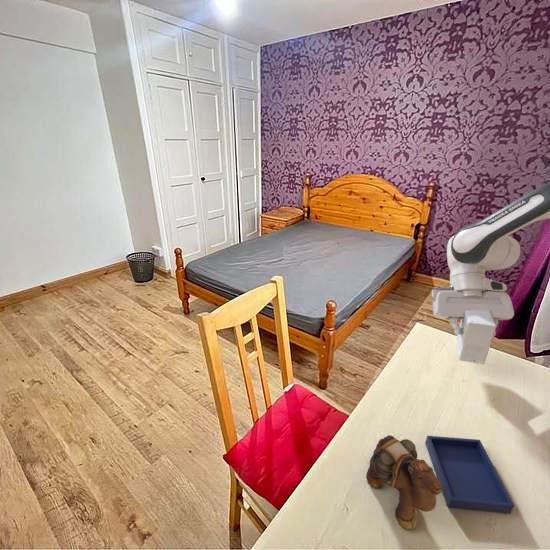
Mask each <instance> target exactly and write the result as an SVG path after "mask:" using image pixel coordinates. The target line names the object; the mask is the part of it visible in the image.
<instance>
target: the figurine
mask: <svg viewBox="0 0 550 550" xmlns="http://www.w3.org/2000/svg"><path fill="white" fill-rule="evenodd" d="M365 477H366V481H367V483H368V484H369V485H370V486H371V487H373V488H376V489H380V488H381V487H383V486H384V485H385V482H386V484H387V485H388V486H389V487H391V488H394V489H395V490H397V491H398V493H399V497H398V503H397V506H396V507H395V509H394V517H395V519H396V521H397V523H398V525H399V526H400V527H401V528H402V529H404V530H412V529H414V528H415V527H416V524H417V517H418V513H419V511H421V512H423V513H428V512H432V511H433V510H435V508H436V506H437V496H438V495H440V494H441V493H442V485H441V483H440V481H439V480H438V478H437V476H436V473H434V468H432V467H431V466H430V465H429V464H428V463H427V462H426V460H424V459H419V458H418V452H417V447H416V444H415V443H414V442H413V441H412V440H410V439H407V438H406V439H405V438H404V439H401V440H399V439H397V438H396V437H394V436H393V435H387V436H385V437H383V438H380V439H379V440H378V442H377V444H376V446H375V448H374V450H373V453H372V455H371V457H370V458H369V467H368V468H367V471H366V475H365Z"/></svg>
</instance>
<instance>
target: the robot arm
mask: <svg viewBox="0 0 550 550" xmlns="http://www.w3.org/2000/svg"><path fill="white" fill-rule="evenodd" d="M547 219H550V183H547V184H544V185H542V186H540V187H537V188H535V189H533V190H532V191H530V192H527V193H525V194H524V195H522V196H521V197H519V198H517V199H516V200H514V201H512V202H510V203H509V204H507V205H505V206H504V207H502V208H501V209H498V210H497V211H496V212H494V213H492V214H490V215H489V216H487V217H485V218H483V219H482V220H480V221H476V222H474V223H470V224H467V225H465V226H463V227H461V228H460V229H459V230H458V231H457V232H456V233H455V234H454V235H453V236H451V237H450V238H449V240H448V241H447V245H446V260H447V261H446V262H447V265H448V268H449V271H450V272H449V273H450V274H449V283H450V286H441V285H438V286H436V287H434V288H432V290H431V292H430V295H431V299H432V315H433V316H434V317H435V318H436V319H448V323H449V324H450V326H451V327H452V328H453V331H454V334H455V335H456V336H457V335H462V334H463V328H459V326H460V325H459V324H458V323H457V322H458V320H461V319H462V317H465V311H466V310H490V313H491V315H492V318H493V320H494V322H495V325H496V328H497V327H498V325H499V322H500V321H508V320H512V319H513V317H514V316H515V310H514V305H513V302H512V299H511V296H510V295H509V294H508V293H507V292H506V291H507V290H508V287H507V284H506V283H504V282H500V281H497V280H494V279H490V278H487V277H486V272H487V271H499V270H500V271H501V270H507V269H509V268H511V267H513V266H514V265H515V264H516V263H517V262H518V261H519V259H520V257H521V254H522V247H521V245H520V242H519V241H518V240H517V239H515V237H512V236H510V235H512V234H514V233H516V232H518V231H519V230H521V229H523V228H525V227H527V226H528V225H529V226H530V225H531V224H533V223H535V222H539V221H544V220H547ZM496 335H497V332H496V330H495V332H494V335H493V337H495V336H496Z"/></svg>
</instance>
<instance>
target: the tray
mask: <svg viewBox="0 0 550 550" xmlns="http://www.w3.org/2000/svg"><path fill="white" fill-rule="evenodd" d="M424 444H425V446H426V450H427V452H428V455H429V459H430V461H431V465H432V467H433V471H434V472H435V473H434V474H435V476H436V477H437V478H438V480H439V481H440V483H441V485H442V492H441V493H442V496H443V498H444V501H445V505H446V507H447V508H450V509H459V510H460V509H461V510H467V511H468V510H469V511H477V512H478V511H479V512H488V513H498V514H512V512H513V510H514V508H515V504H514V502H513V500H512V499H511V497H510V495H509V492H508V491H507V489H506V486H505V484H504V483H503V481H502V479H501V477H500V475H499V474H498V472H497V470H496V468H495V466H494V463H492V460H491V458H490V457H489V454H488V452H487V451H486V449H485V447H484V444H483V443H482V441H481V439H475V438H461V437H449V436H437V435H427V436H426V438H425V442H424Z"/></svg>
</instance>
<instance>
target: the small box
mask: <svg viewBox="0 0 550 550" xmlns="http://www.w3.org/2000/svg"><path fill="white" fill-rule="evenodd" d="M458 326H459V328H463V334H462V335H456V338H455V342H454V344H455V345H454V346H455V349H456V354H457V359H458V361H460V362H461V361H462V362H466V363H472V364H476V365H477V364H479V365H485V364H486V361H487V358H488V354H489V351H490V348H491V345H492V341H493V338H494V336H493V335H494V332H495V331H496V330H497V327H496V325H495V322H494V320H493V318H492V315H491V313H490V310H466V311H465V317H462V319H460V322H459V325H458Z"/></svg>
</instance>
